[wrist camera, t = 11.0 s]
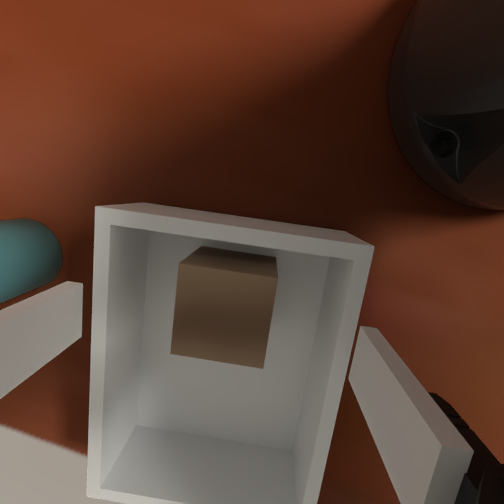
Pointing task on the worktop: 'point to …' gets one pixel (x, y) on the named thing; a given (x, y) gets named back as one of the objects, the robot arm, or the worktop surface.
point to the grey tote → (215, 363)
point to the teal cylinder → (26, 257)
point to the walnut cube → (224, 306)
